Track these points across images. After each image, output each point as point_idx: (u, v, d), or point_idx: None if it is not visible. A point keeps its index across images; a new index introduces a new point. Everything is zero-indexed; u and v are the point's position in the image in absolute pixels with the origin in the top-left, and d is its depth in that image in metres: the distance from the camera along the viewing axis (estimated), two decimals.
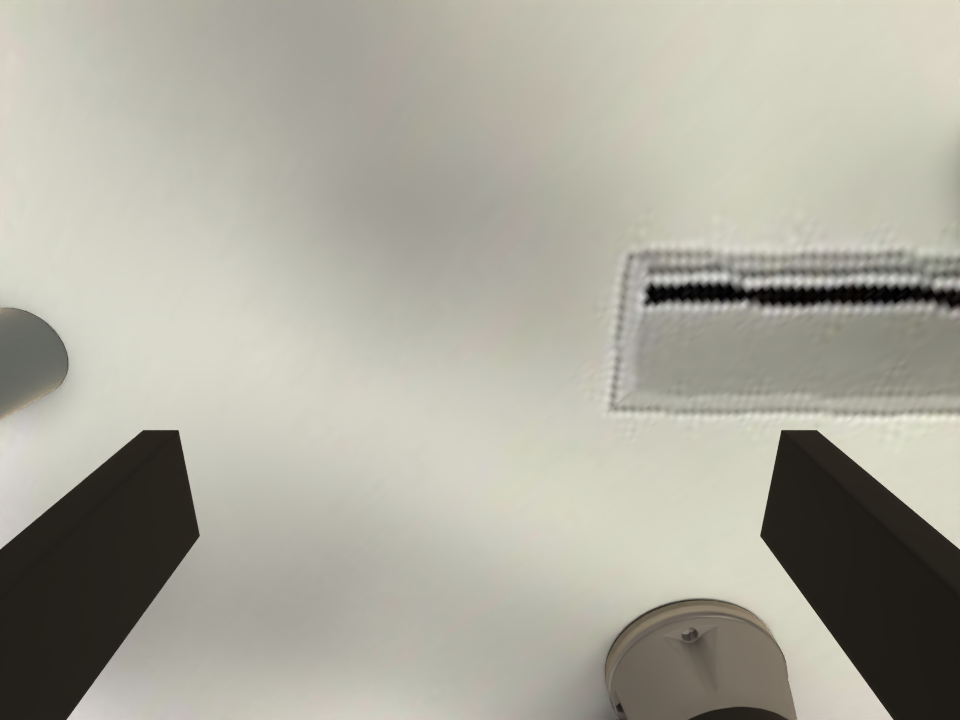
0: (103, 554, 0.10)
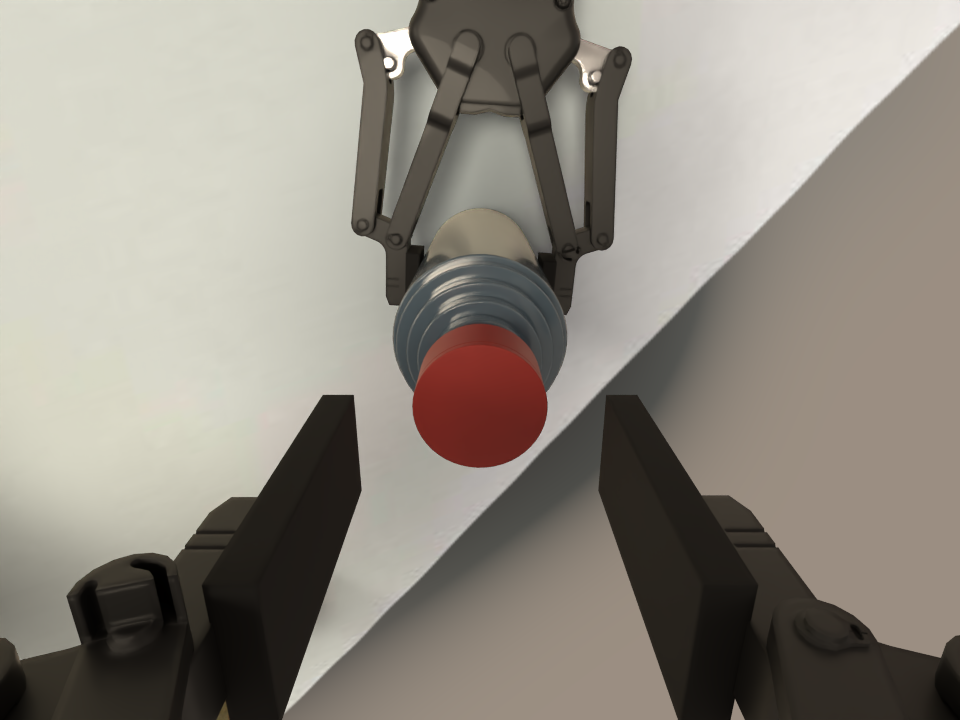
0: (327, 492, 0.12)
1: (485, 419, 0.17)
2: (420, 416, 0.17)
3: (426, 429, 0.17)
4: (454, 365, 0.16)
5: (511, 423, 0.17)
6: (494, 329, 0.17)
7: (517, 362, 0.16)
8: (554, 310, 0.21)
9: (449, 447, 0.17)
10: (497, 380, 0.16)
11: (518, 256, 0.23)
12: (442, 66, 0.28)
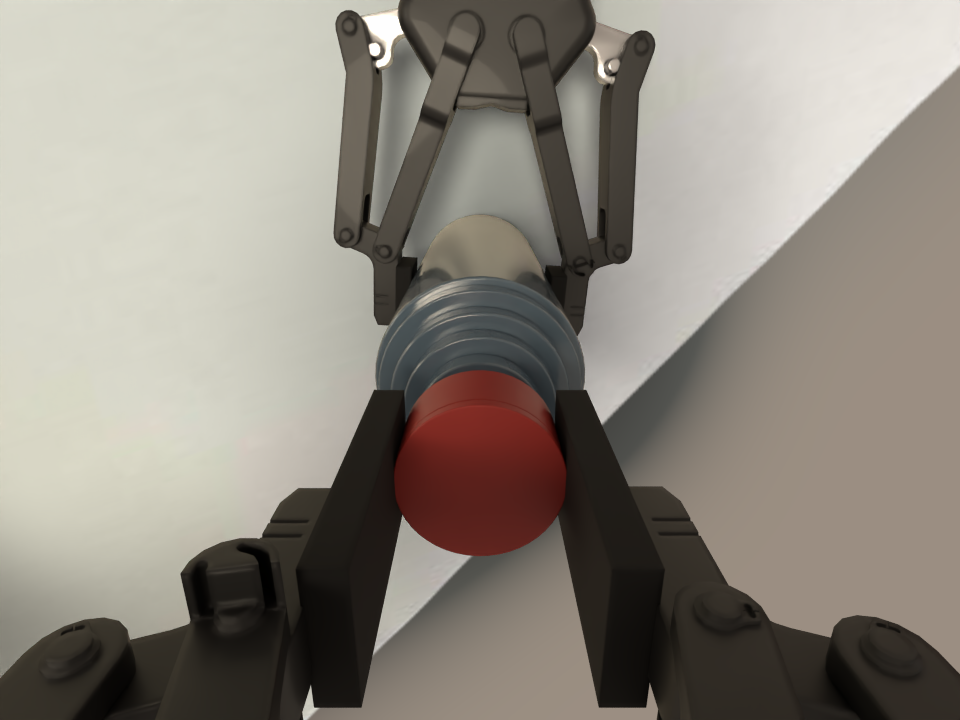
0: (388, 484, 0.12)
1: (487, 497, 0.13)
2: (403, 493, 0.13)
3: (411, 509, 0.13)
4: (446, 430, 0.12)
5: (520, 502, 0.13)
6: (498, 378, 0.14)
7: (529, 427, 0.12)
8: (570, 345, 0.17)
9: (441, 531, 0.13)
10: (502, 449, 0.12)
11: (526, 277, 0.19)
12: (436, 53, 0.24)
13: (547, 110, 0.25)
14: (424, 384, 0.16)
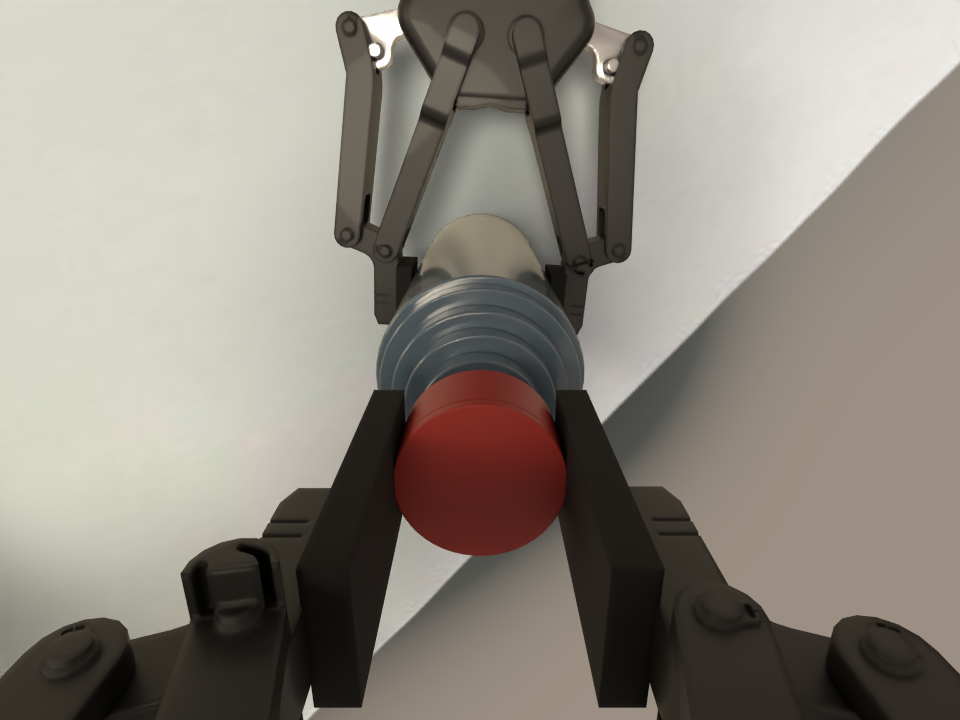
0: (388, 484, 0.12)
1: (486, 470, 0.13)
2: (539, 525, 0.13)
3: (548, 511, 0.13)
4: (458, 538, 0.13)
5: (466, 445, 0.12)
6: None
7: (401, 493, 0.13)
8: (570, 343, 0.17)
9: (549, 477, 0.13)
10: (436, 494, 0.13)
11: (525, 276, 0.19)
12: (436, 53, 0.25)
13: (546, 110, 0.25)
14: (424, 382, 0.16)
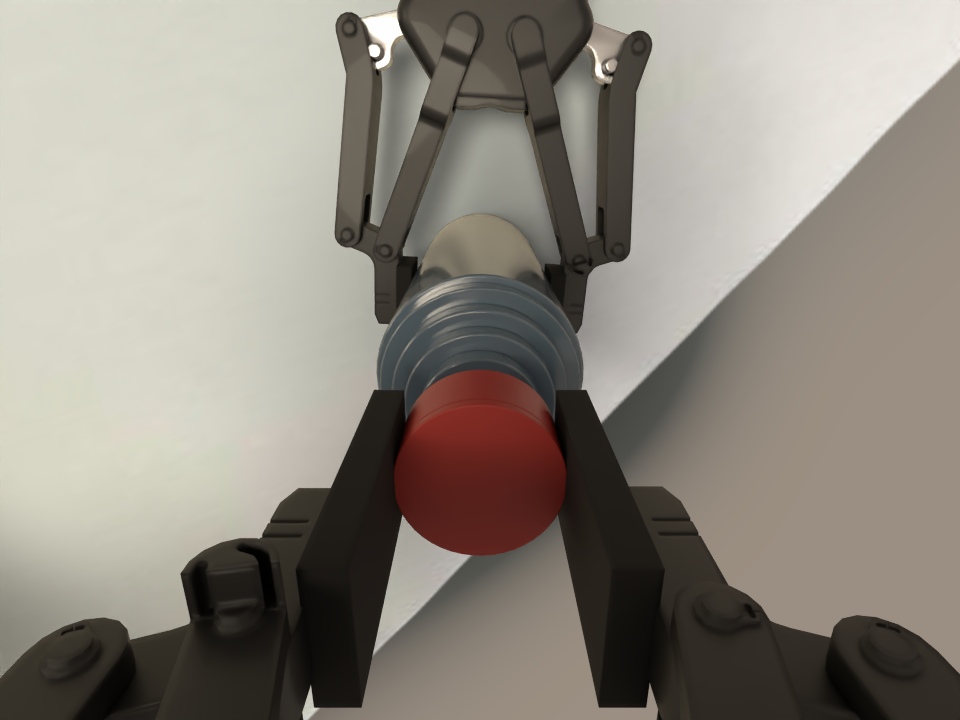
0: (388, 484, 0.12)
1: (464, 489, 0.13)
2: (474, 413, 0.12)
3: (454, 419, 0.12)
4: (543, 459, 0.12)
5: (457, 518, 0.13)
6: None
7: (539, 527, 0.13)
8: (569, 341, 0.17)
9: (425, 445, 0.12)
10: (517, 504, 0.13)
11: (525, 275, 0.19)
12: (435, 54, 0.25)
13: (545, 110, 0.25)
14: (425, 380, 0.16)
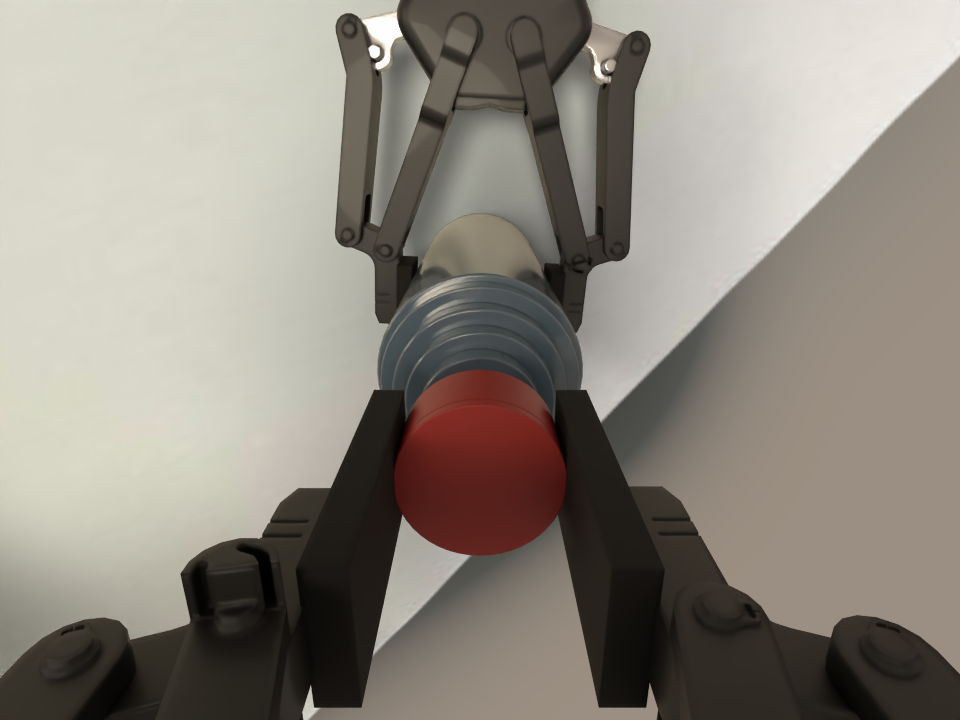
0: (388, 484, 0.12)
1: (495, 490, 0.13)
2: (428, 531, 0.13)
3: (445, 539, 0.13)
4: (416, 460, 0.12)
5: (525, 476, 0.13)
6: (444, 383, 0.14)
7: (475, 412, 0.12)
8: (568, 340, 0.18)
9: (483, 541, 0.13)
10: (471, 445, 0.12)
11: (524, 274, 0.19)
12: (435, 54, 0.25)
13: (544, 110, 0.25)
14: (425, 379, 0.16)
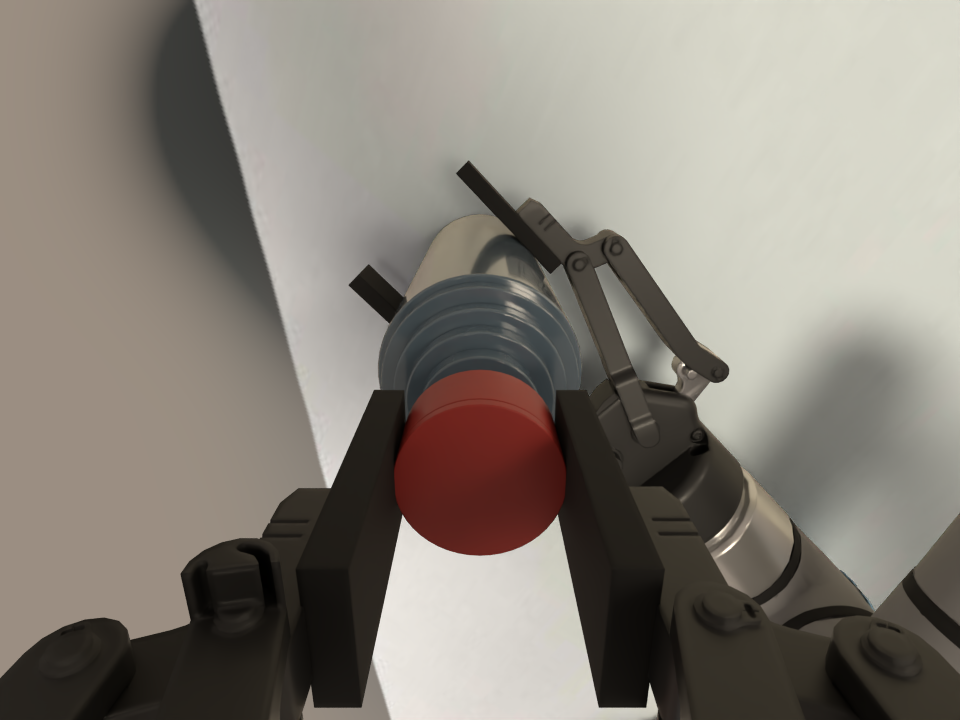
0: (388, 484, 0.12)
1: (495, 490, 0.13)
2: (428, 531, 0.13)
3: (445, 539, 0.13)
4: (416, 461, 0.12)
5: (525, 475, 0.13)
6: (444, 383, 0.14)
7: (475, 412, 0.12)
8: None
9: (483, 541, 0.13)
10: (471, 445, 0.12)
11: None
12: (652, 406, 0.31)
13: None
14: (537, 385, 0.17)
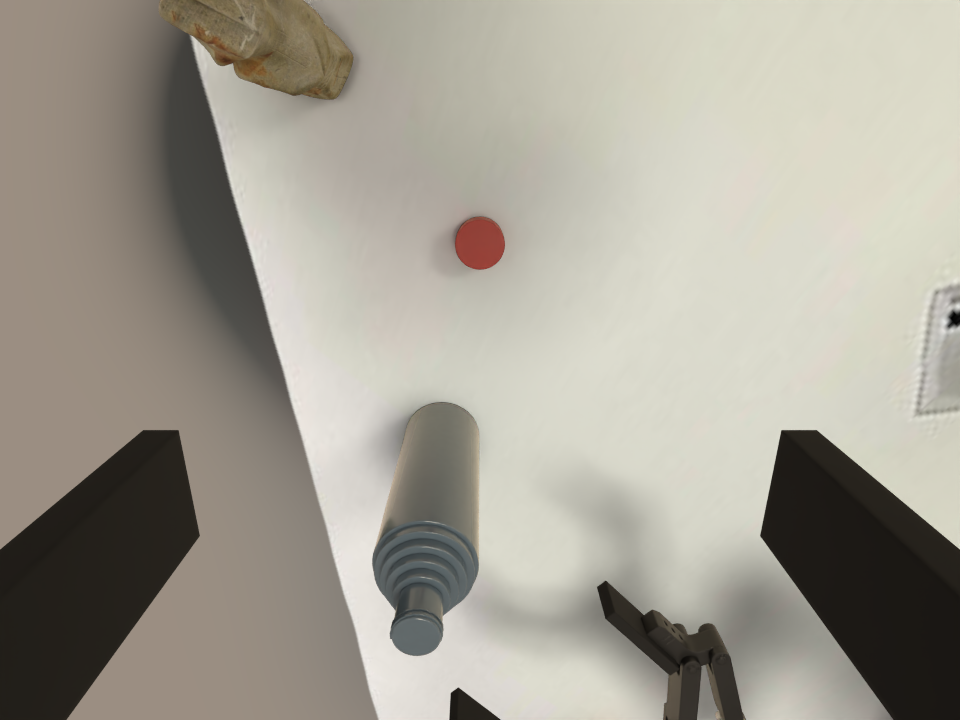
0: (103, 554, 0.10)
1: (484, 247, 0.45)
2: (465, 261, 0.45)
3: (469, 263, 0.45)
4: (462, 237, 0.45)
5: (492, 242, 0.45)
6: (469, 219, 0.46)
7: (478, 221, 0.44)
8: None
9: (481, 264, 0.45)
10: (477, 232, 0.44)
11: None
12: None
13: None
14: (449, 583, 0.34)
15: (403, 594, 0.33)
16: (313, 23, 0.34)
